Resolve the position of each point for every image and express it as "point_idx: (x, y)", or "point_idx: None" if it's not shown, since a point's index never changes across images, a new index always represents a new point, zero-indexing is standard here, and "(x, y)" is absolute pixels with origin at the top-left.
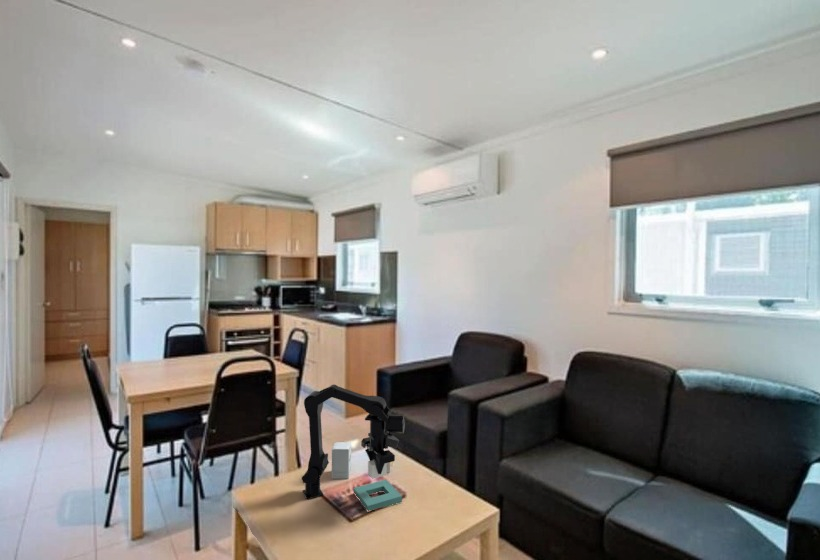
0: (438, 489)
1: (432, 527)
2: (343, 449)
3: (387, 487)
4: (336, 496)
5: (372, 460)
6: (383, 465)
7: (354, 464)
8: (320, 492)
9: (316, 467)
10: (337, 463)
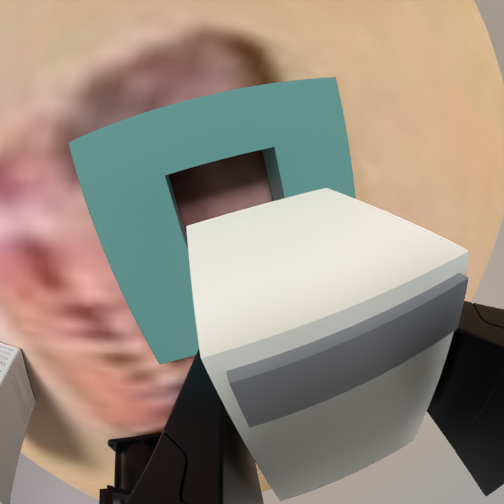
0: None
1: (472, 67)
2: None
3: (193, 145)
4: (172, 399)
5: (272, 481)
6: (482, 312)
7: None
8: (151, 441)
9: None
10: (12, 439)
